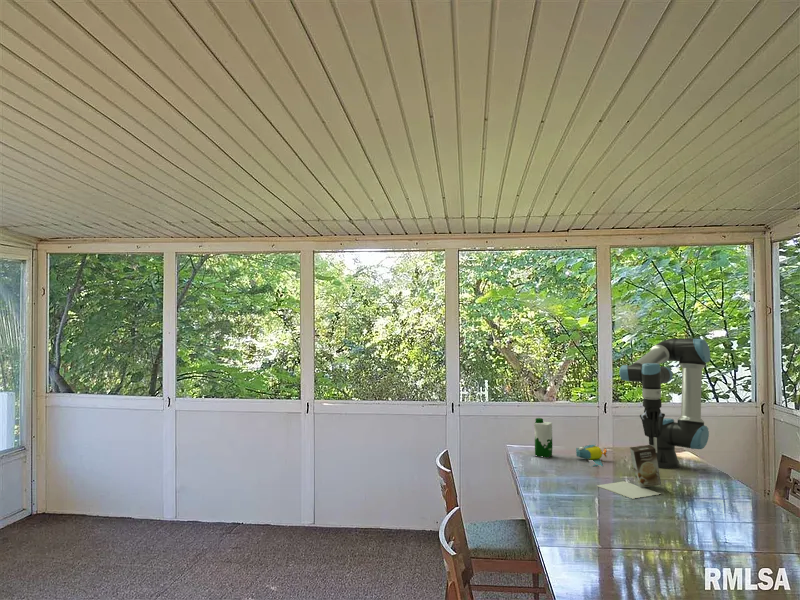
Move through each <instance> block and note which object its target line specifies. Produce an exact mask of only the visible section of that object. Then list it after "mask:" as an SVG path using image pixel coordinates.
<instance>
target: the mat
mask: <svg viewBox="0 0 800 600" xmlns="http://www.w3.org/2000/svg"><path fill="white" fill-rule="evenodd" d="M596 487H598V488H600V489H602V490H606V491H608V492H611V493H614V494H616V495H619V494H620V495H619V496H622V495H623V497H625V496H626V497H625V498H627V497H629V498H628V499H630V498H632V499H631V500H636V499H635V498H638V499H641V498H640V497H644V498H647V497H646V496H650V497H653V496H652V495H656V496H660V495H659V494H661V495H662V493H660V492H658V491H654V490H651V489H649V488H647V487H639V486H638V485H637V484H634V483H630V482H627V481H625V480H623V481H618V482H616V481H615V482H610V483H603V484H597V485H596Z"/></svg>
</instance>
